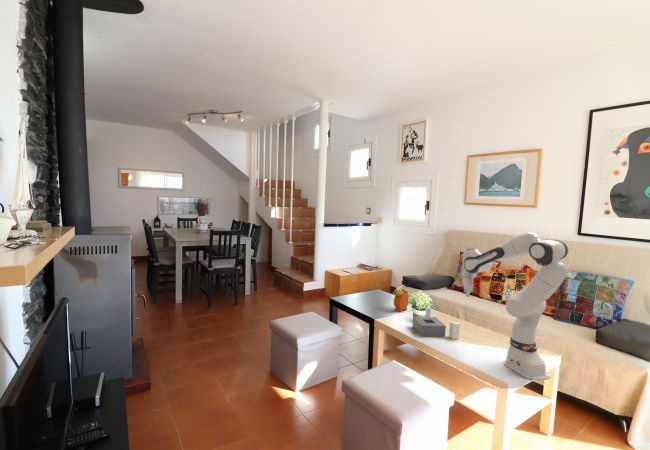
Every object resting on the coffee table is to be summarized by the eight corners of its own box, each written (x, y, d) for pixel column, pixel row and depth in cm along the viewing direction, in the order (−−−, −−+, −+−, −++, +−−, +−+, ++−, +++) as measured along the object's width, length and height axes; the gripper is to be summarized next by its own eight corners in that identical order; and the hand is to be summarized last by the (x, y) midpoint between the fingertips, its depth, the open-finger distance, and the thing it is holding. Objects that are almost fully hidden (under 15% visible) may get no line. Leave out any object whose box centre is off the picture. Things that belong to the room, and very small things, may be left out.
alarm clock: (402, 307, 269) (403, 283, 267) (408, 309, 264) (410, 285, 262) (392, 311, 260) (394, 286, 258) (399, 313, 255) (400, 288, 253)
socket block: (445, 336, 214) (445, 325, 214) (421, 336, 213) (422, 325, 212) (434, 326, 230) (435, 316, 230) (412, 326, 229) (413, 316, 228)
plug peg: (458, 339, 211) (459, 323, 210) (452, 339, 210) (453, 323, 210) (455, 336, 215) (456, 320, 214) (448, 336, 215) (450, 320, 214)
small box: (425, 318, 245) (426, 305, 244) (430, 321, 240) (431, 307, 239) (416, 319, 242) (417, 306, 241) (421, 322, 237) (422, 308, 236)
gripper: (476, 277, 198) (474, 299, 200) (471, 270, 218) (469, 290, 219) (465, 276, 200) (463, 298, 201) (461, 269, 219) (459, 289, 221)
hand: (466, 294), depth 210 cm, fingers open, 8 cm apart
